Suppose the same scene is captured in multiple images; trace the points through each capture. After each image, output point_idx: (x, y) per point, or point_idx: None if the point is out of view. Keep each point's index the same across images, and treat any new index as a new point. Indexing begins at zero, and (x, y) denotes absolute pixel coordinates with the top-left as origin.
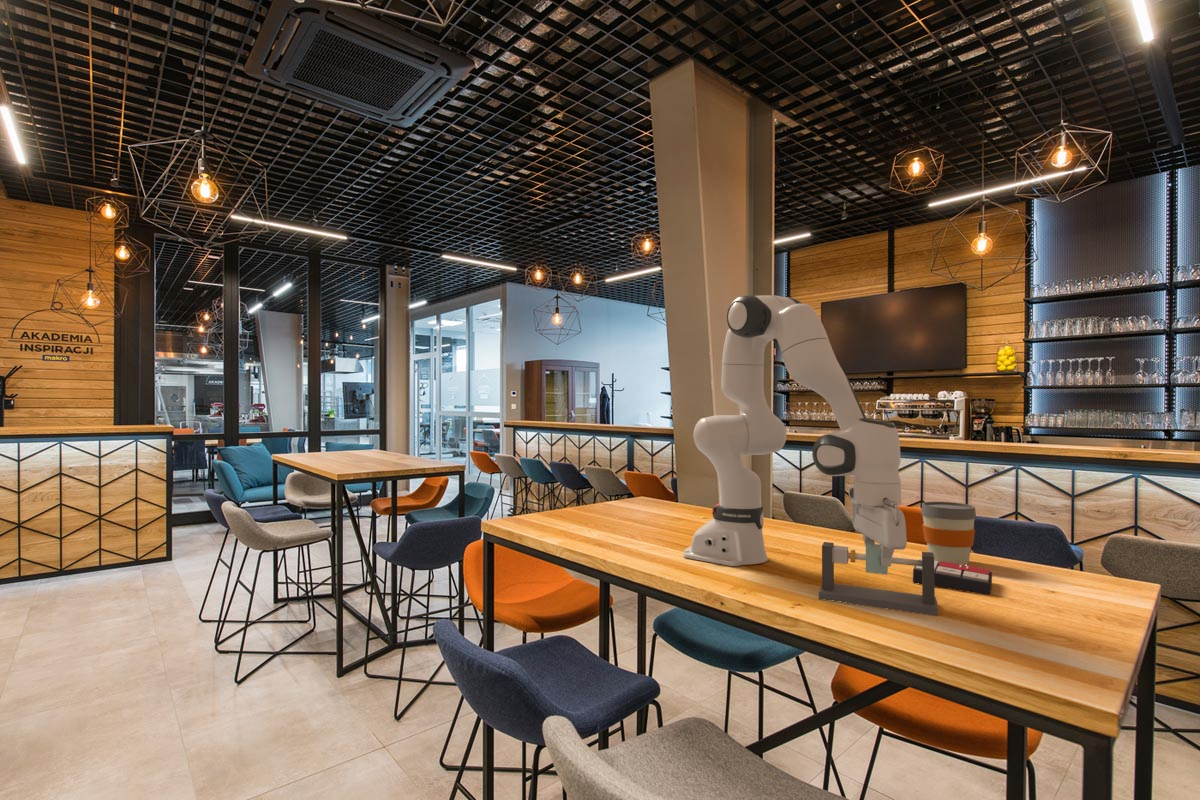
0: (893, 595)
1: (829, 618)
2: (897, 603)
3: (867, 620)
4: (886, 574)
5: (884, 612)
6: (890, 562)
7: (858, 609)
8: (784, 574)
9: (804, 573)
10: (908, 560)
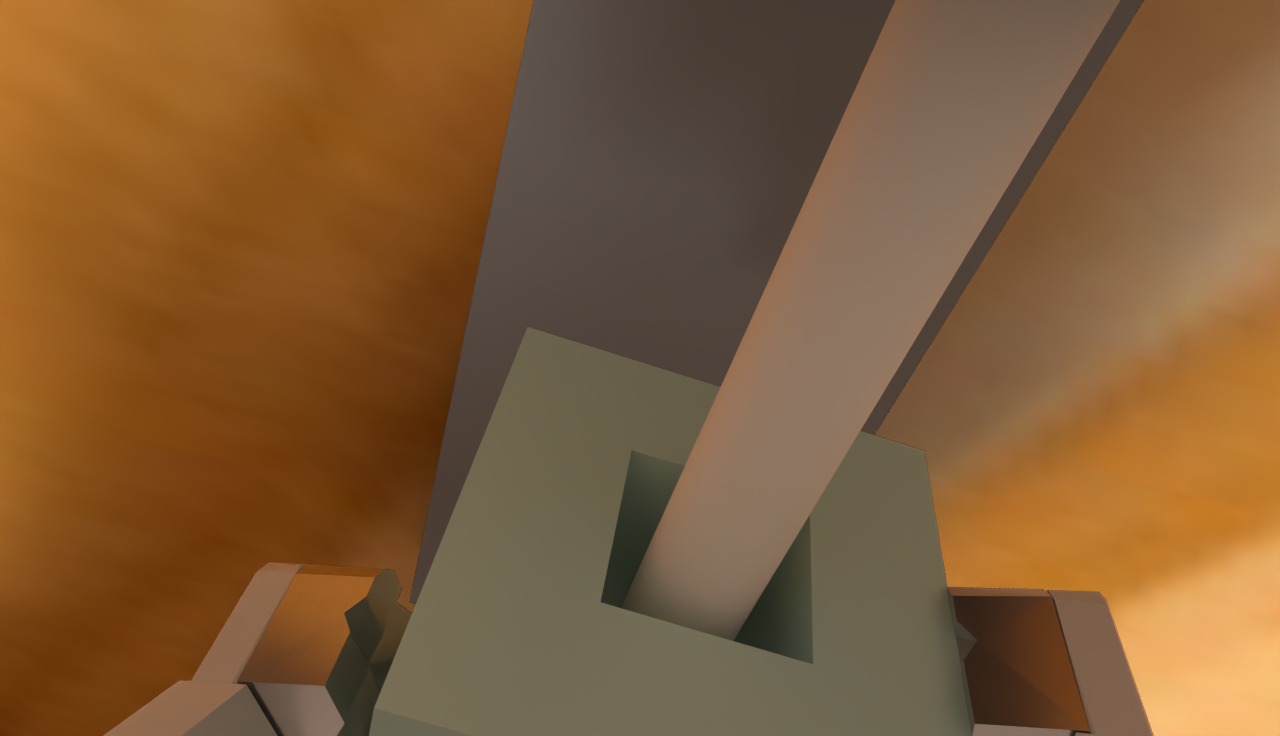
0: (722, 124)
1: (1170, 688)
2: (1033, 176)
3: (1272, 491)
4: (914, 460)
5: (1067, 291)
6: (1120, 656)
7: (966, 471)
8: (151, 672)
9: (36, 564)
10: (952, 258)
